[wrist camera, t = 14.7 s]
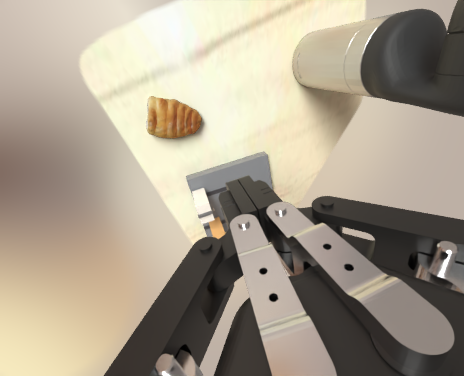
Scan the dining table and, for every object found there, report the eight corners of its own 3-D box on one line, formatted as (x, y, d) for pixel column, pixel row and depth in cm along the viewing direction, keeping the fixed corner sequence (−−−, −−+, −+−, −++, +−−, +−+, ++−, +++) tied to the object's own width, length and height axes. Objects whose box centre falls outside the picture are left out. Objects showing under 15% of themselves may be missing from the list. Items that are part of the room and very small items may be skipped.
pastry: (201, 102, 42) (205, 105, 39) (198, 138, 45) (201, 144, 42) (146, 94, 39) (144, 97, 36) (146, 134, 42) (144, 140, 39)
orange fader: (219, 216, 51) (226, 235, 46) (223, 230, 53) (230, 249, 48) (207, 220, 51) (213, 239, 45) (212, 234, 53) (218, 253, 47)
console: (263, 151, 49) (267, 154, 48) (272, 209, 57) (276, 214, 55) (185, 176, 47) (186, 180, 46) (206, 232, 55) (208, 238, 53)
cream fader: (204, 187, 47) (209, 203, 41) (209, 203, 49) (215, 221, 43) (191, 191, 47) (195, 208, 41) (197, 207, 49) (201, 225, 43)
